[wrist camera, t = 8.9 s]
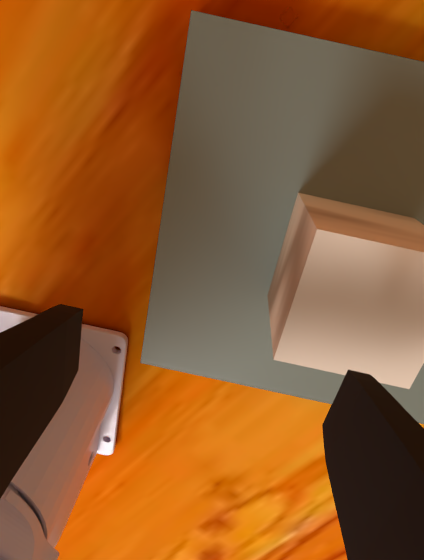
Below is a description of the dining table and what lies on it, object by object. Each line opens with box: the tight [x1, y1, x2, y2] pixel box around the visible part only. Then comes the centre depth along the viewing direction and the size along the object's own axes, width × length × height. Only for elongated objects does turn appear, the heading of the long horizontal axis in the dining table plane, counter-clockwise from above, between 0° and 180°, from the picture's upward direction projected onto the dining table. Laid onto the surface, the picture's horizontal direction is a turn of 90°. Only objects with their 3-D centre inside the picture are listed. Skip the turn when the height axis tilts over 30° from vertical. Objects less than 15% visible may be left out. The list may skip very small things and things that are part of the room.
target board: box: [140, 10, 424, 424], centre depth 18 cm, size 16×16×1 cm
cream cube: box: [267, 193, 424, 389], centre depth 15 cm, size 5×5×5 cm
